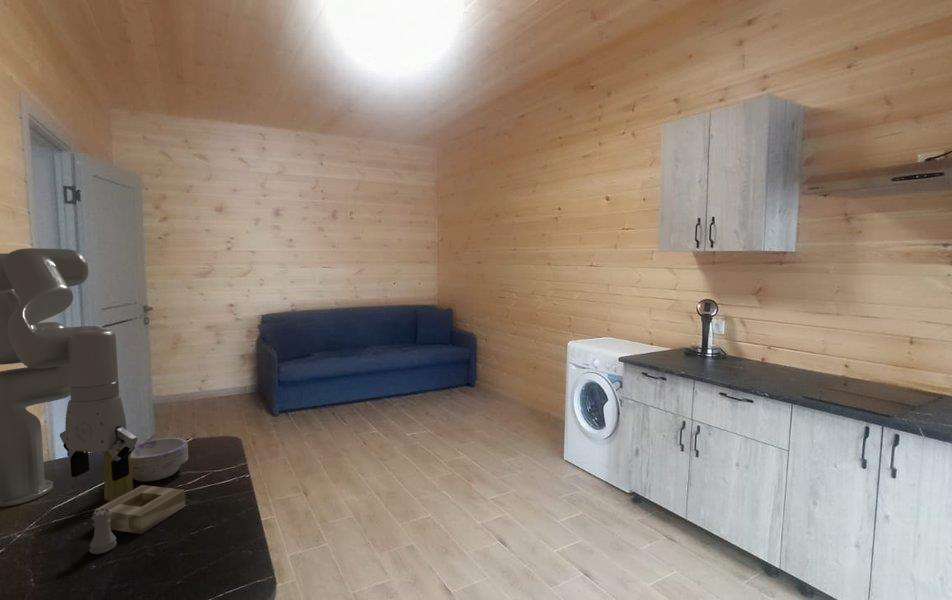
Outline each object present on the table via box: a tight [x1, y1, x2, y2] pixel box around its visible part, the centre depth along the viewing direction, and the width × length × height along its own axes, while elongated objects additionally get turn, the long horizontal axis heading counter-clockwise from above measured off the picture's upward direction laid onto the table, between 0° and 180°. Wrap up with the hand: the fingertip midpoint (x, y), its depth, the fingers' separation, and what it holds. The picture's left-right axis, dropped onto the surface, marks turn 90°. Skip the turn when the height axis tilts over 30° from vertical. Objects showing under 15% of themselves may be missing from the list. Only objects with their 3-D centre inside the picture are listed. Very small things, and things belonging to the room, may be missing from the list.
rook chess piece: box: [88, 508, 118, 555], centre depth 97 cm, size 4×4×8 cm
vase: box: [103, 448, 135, 502], centre depth 119 cm, size 6×6×14 cm
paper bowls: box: [130, 437, 189, 483], centre depth 131 cm, size 15×15×8 cm
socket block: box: [93, 484, 186, 535], centre depth 109 cm, size 12×12×4 cm
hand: (100, 475), depth 96 cm, fingers open, 9 cm apart
